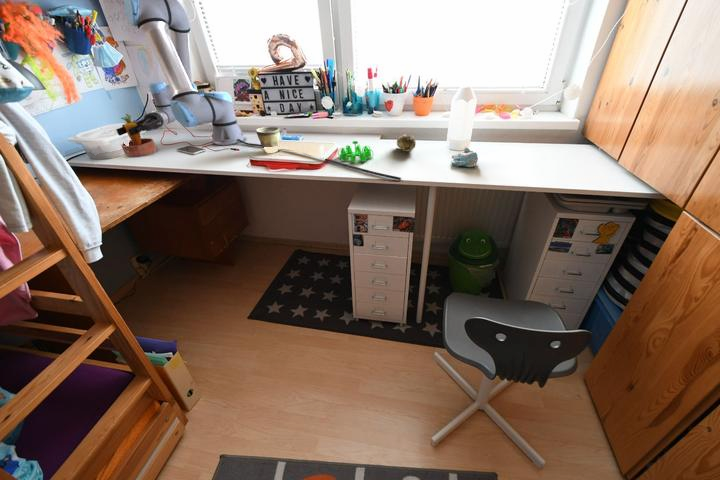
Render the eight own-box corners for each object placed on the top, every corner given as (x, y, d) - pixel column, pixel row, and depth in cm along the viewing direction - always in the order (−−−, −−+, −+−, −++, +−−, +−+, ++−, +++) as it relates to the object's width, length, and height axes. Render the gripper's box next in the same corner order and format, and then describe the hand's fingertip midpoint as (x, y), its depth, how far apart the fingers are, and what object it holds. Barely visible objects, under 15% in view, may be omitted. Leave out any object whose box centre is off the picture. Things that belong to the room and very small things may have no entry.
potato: (415, 147, 146) (416, 129, 142) (415, 156, 135) (416, 137, 131) (396, 147, 147) (397, 129, 143) (395, 156, 136) (395, 137, 132)
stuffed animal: (465, 143, 130) (486, 146, 119) (465, 161, 133) (486, 165, 122) (443, 148, 126) (463, 150, 116) (443, 166, 129) (463, 170, 119)
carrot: (140, 149, 149) (126, 115, 141) (131, 149, 150) (116, 115, 142) (148, 146, 153) (135, 113, 145) (139, 145, 154) (125, 112, 146)
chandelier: (376, 153, 141) (376, 137, 137) (370, 165, 128) (369, 148, 125) (342, 152, 143) (342, 136, 140) (333, 163, 131) (332, 147, 127)
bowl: (162, 150, 154) (158, 140, 151) (134, 159, 145) (129, 148, 142) (148, 146, 160) (144, 136, 158) (120, 154, 151) (115, 143, 149)
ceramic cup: (280, 154, 143) (276, 132, 138) (258, 155, 143) (253, 132, 138) (286, 146, 154) (282, 124, 148) (265, 146, 154) (261, 125, 149)
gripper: (175, 127, 163) (146, 140, 144) (142, 127, 164) (109, 140, 145) (170, 111, 159) (139, 123, 140) (136, 112, 160) (101, 123, 141)
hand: (124, 132), depth 142 cm, fingers closed on carrot, 5 cm apart
